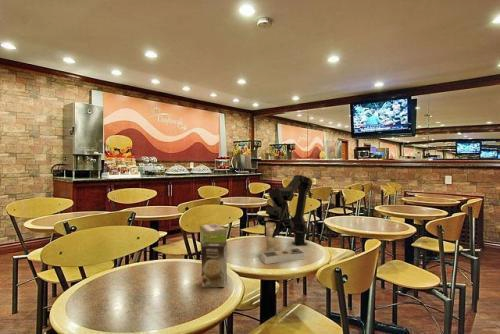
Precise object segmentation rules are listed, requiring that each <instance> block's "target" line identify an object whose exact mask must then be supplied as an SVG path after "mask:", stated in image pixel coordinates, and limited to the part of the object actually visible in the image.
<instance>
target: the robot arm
mask: <svg viewBox="0 0 500 334" xmlns="http://www.w3.org/2000/svg"><path fill="white" fill-rule="evenodd" d="M312 185H313V180H312V178H310V177H307V176H305V175H302V174H295V175H293V178H292V179H291V180H290V182H289V183H288V185H286V186H285V187H283V188H281V189H280V188H279V187H275V188H274V189H272V190H271V191H269V192H268V197H269V199H270V200H271V202H272V203H273V204H274V205H275V206H274V207H271V206H266V209H265V214H266V215H267V216H268V217H266V215H257V216H256V219H255V220H256V221H257V222H258V224H259V225H260V226H261V227H264V237H265V238H266V222H274V225H275V227H274V233H273V236H272V237H273V238H274V237H275V238H276V237H277V236H278V235H279V234H280V233H281V232H283V231H285V230H286V229H288V230H290V233H291V234H293V235H294V236H293V238H294V241H292V244H294V245H295V246H305V245H307V244H308V243H307V242H306V241H305V235H308V232H309V229H308V226H307V225H306V220H305V217H304V215H305V210H306V209H305V207H306V201H307V196H308V193H309V192H310V191H311V190H312V189H311V188H312ZM296 190H298V195H297V200H296V201H297V202H296V207H295V212H294V213H295V214H294V216H291V217H285V216H286V214H285V213H286V211H287V209H289V207H290V206H289V203H288V202H292V201H293V199H294V197H295V194H294V193H295V191H296Z"/></svg>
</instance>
